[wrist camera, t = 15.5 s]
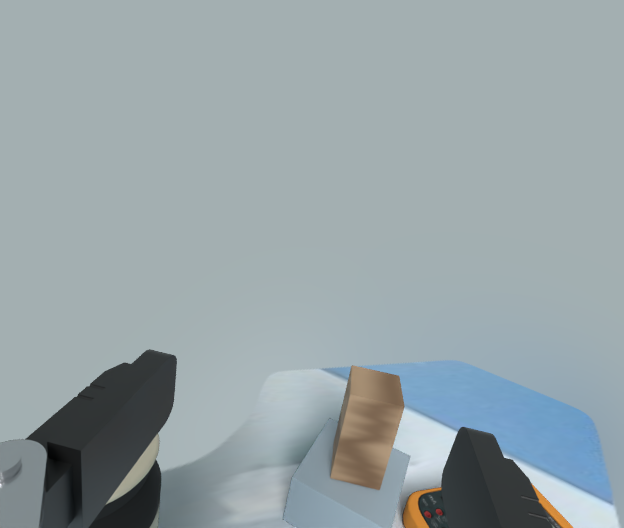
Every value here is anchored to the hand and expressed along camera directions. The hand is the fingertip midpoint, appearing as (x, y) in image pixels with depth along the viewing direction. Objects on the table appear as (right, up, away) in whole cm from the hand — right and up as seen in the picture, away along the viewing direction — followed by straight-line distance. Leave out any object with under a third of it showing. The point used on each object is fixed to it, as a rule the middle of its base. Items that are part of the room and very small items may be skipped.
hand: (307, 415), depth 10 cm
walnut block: (+5, -17, +29) cm, 34 cm away
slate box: (+4, -23, +31) cm, 39 cm away
